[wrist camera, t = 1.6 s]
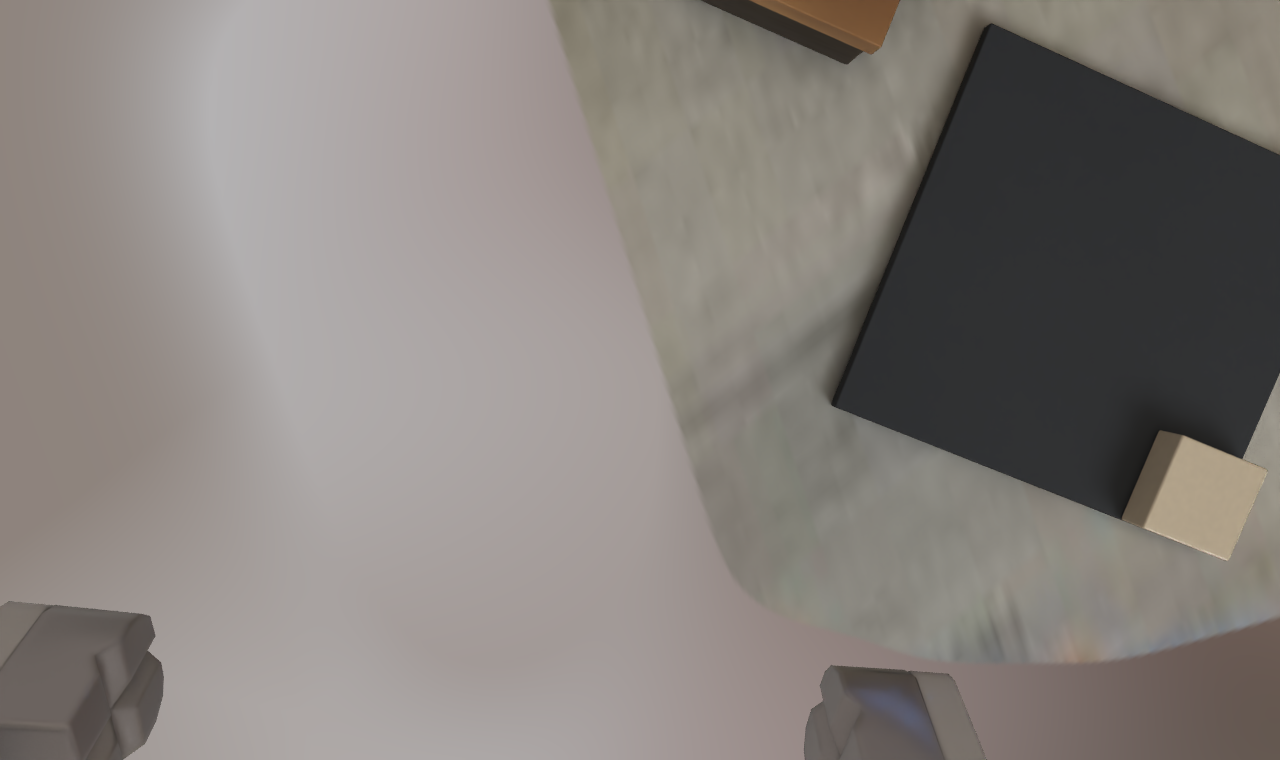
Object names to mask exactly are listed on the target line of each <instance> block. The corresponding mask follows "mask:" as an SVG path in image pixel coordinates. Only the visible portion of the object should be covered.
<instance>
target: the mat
mask: <svg viewBox="0 0 1280 760" xmlns="http://www.w3.org/2000/svg"><path fill="white" fill-rule="evenodd" d="M1279 373H1280V155H1278V154H1276V153H1274V152H1272V151H1269V150H1267V149H1265V148H1263V147H1261V146H1258V145H1256V144H1254V143H1252V142H1250V141H1247V140H1245V139H1243V138H1241V137H1239V136H1237V135H1234V134H1232V133H1230V132H1228V131H1226V130H1223V129H1221V128H1219V127H1217V126H1215V125H1213V124H1210V123H1208V122H1206V121H1204V120H1202V119H1199V118H1197V117H1195V116H1193V115H1191V114H1188V113H1186V112H1184V111H1182V110H1180V109H1178V108H1175V107H1173V106H1171V105H1169V104H1167V103H1164V102H1162V101H1160V100H1158V99H1156V98H1154V97H1151V96H1149V95H1147V94H1145V93H1143V92H1140V91H1138V90H1136V89H1134V88H1132V87H1129V86H1127V85H1125V84H1123V83H1121V82H1119V81H1116V80H1114V79H1112V78H1110V77H1108V76H1105V75H1103V74H1101V73H1099V72H1097V71H1094V70H1092V69H1090V68H1088V67H1086V66H1084V65H1081V64H1079V63H1077V62H1075V61H1073V60H1070V59H1068V58H1066V57H1064V56H1062V55H1060V54H1057V53H1055V52H1053V51H1051V50H1049V49H1046V48H1044V47H1042V46H1040V45H1038V44H1035V43H1033V42H1031V41H1029V40H1027V39H1025V38H1022V37H1020V36H1018V35H1016V34H1014V33H1011V32H1009V31H1007V30H1005V29H1003V28H1001V27H998V26H996V25H994V24H989V25H988V26H986V27H985V28H984V30H983V32H982V35H981V37H980V40H979V42H978V45H977V47H976V50H975V52H974V54H973V57H972V59H971V62H970V64H969V67H968V69H967V72H966V74H965V77H964V79H963V81H962V84H961V86H960V89H959V91H958V94H957V96H956V99H955V101H954V104H953V106H952V108H951V111H950V113H949V116H948V118H947V121H946V123H945V126H944V128H943V131H942V133H941V135H940V138H939V140H938V143H937V145H936V148H935V150H934V153H933V155H932V158H931V160H930V163H929V165H928V167H927V170H926V172H925V175H924V177H923V180H922V182H921V185H920V187H919V190H918V192H917V194H916V197H915V199H914V202H913V204H912V207H911V209H910V212H909V214H908V217H907V219H906V221H905V224H904V226H903V229H902V231H901V234H900V236H899V239H898V241H897V244H896V246H895V248H894V251H893V253H892V256H891V258H890V261H889V263H888V266H887V268H886V271H885V273H884V276H883V278H882V280H881V283H880V285H879V288H878V290H877V293H876V295H875V298H874V300H873V303H872V305H871V307H870V310H869V312H868V315H867V317H866V320H865V322H864V325H863V327H862V330H861V332H860V334H859V337H858V339H857V342H856V344H855V347H854V349H853V352H852V354H851V357H850V359H849V361H848V364H847V366H846V369H845V371H844V374H843V376H842V379H841V381H840V384H839V386H838V389H837V391H836V393H835V396H834V398H833V401H832V403H831V405H832V406H834V407H837V408H839V409H842V410H844V411H847V412H849V413H852V414H854V415H857V416H859V417H862V418H864V419H867V420H870V421H872V422H875V423H877V424H880V425H882V426H885V427H887V428H890V429H892V430H895V431H897V432H900V433H903V434H905V435H908V436H910V437H913V438H915V439H918V440H920V441H923V442H925V443H928V444H930V445H933V446H935V447H938V448H941V449H943V450H946V451H948V452H951V453H953V454H956V455H958V456H961V457H963V458H966V459H968V460H971V461H973V462H976V463H979V464H981V465H984V466H986V467H989V468H991V469H994V470H996V471H999V472H1001V473H1004V474H1006V475H1009V476H1012V477H1014V478H1017V479H1019V480H1022V481H1024V482H1027V483H1029V484H1032V485H1034V486H1037V487H1039V488H1042V489H1044V490H1047V491H1050V492H1052V493H1055V494H1057V495H1060V496H1062V497H1065V498H1067V499H1070V500H1072V501H1075V502H1077V503H1080V504H1082V505H1085V506H1088V507H1090V508H1093V509H1095V510H1098V511H1100V512H1103V513H1105V514H1108V515H1110V516H1113V517H1115V518H1118V519H1120V520H1122V515H1123V513H1124V511H1125V508H1126V506H1127V504H1128V501H1129V499H1130V497H1131V494H1132V492H1133V490H1134V487H1135V485H1136V483H1137V480H1138V478H1139V476H1140V473H1141V471H1142V469H1143V466H1144V464H1145V462H1146V459H1147V457H1148V455H1149V452H1150V450H1151V448H1152V445H1153V443H1154V441H1155V438H1156V436H1157V434H1158V431H1160V430H1163V431H1167V432H1172V433H1176V434H1181V435H1185V436H1187V437H1189V438H1192V439H1194V440H1197V441H1199V442H1202V443H1204V444H1207V445H1209V446H1211V447H1214V448H1216V449H1219V450H1221V451H1224V452H1226V453H1228V454H1231V455H1233V456H1236V457H1238V458H1241V459H1243V456H1244V454H1245V452H1246V449H1247V447H1248V445H1249V442H1250V440H1251V438H1252V436H1253V433H1254V431H1255V429H1256V426H1257V424H1258V422H1259V419H1260V417H1261V415H1262V412H1263V410H1264V408H1265V406H1266V403H1267V401H1268V399H1269V396H1270V394H1271V392H1272V389H1273V387H1274V385H1275V383H1276V380H1277V378H1278V376H1279Z"/></svg>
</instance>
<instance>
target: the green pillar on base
mask: <svg viewBox="0 0 1280 760" xmlns="http://www.w3.org/2000/svg"><path fill="white" fill-rule="evenodd" d="M702 1H704V2H706V3H708V4H711V5H713V6H715V7H718V8H720V9H722V10H724V11H727V12H729V13H731V14H733V15H736V16H738V17H740V18H742V19H745V20H747V21H749V22H751V23H754V24H756V25H758V26H760V27H763V28H765V29H767V30H769V31H772V32H774V33H776V34H779V35H781V36H783V37H785V38H788V39H790V40H792V41H794V42H797V43H799V44H801V45H803V46H806V47H808V48H810V49H812V50H815V51H817V52H819V53H821V54H824V55H826V56H828V57H830V58H833V59H835V60H837V61H840V62H842V63H844V64H848V63H850V62H851V61H852V60H853V59H854V58H856V57H857V56H858V55H859V54H860V53H862V52H863V51H864V52H867V53H869V54H873V53H874V52H875V51H877V50H878V49H879V48H881V46H882V44H883V41H884V39H885V36H886V34H887V31H888V29H889V26H890V24H891V21H892V19H893V16H894V14H895V11H896V9H897V6H898V4H899V1H900V0H702Z"/></svg>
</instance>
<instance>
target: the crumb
mask: <svg viewBox="0 0 1280 760" xmlns="http://www.w3.org/2000/svg"><path fill="white" fill-rule="evenodd" d="M1267 472H1268V470H1266V469H1265V468H1263V467H1260V466H1258V465H1255V464H1253V463H1250V462H1248V461H1246V460H1243V459H1241V458H1238V457H1236V456H1233V455H1231V454H1228V453H1226V452H1224V451H1221V450H1219V449H1216V448H1214V447H1211V446H1209V445H1207V444H1204V443H1202V442H1199V441H1197V440H1194V439H1192V438H1189V437H1187V436H1185V435H1181V434H1176V433H1172V432H1167V431H1163V430H1160V431H1158V434H1157V436H1156V438H1155V441H1154V443H1153V445H1152V448H1151V450H1150V452H1149V455H1148V457H1147V459H1146V462H1145V464H1144V466H1143V469H1142V471H1141V473H1140V476H1139V478H1138V480H1137V483H1136V485H1135V487H1134V490H1133V492H1132V494H1131V497H1130V499H1129V501H1128V504H1127V506H1126V508H1125V511H1124V513H1123V515H1122V520H1123V521H1126V522H1128V523H1131V524H1133V525H1136V526H1138V527H1141V528H1143V529H1146V530H1148V531H1151V532H1153V533H1156V534H1158V535H1161V536H1164V537H1166V538H1169V539H1171V540H1174V541H1176V542H1179V543H1181V544H1184V545H1186V546H1189V547H1191V548H1194V549H1196V550H1199V551H1202V552H1204V553H1207V554H1209V555H1212V556H1214V557H1217V558H1219V559H1222V560H1224V561H1228V560H1229V559H1230V557H1231V554H1232V552H1233V550H1234V548H1235V545H1236V543H1237V541H1238V538H1239V536H1240V534H1241V532H1242V529H1243V527H1244V525H1245V522H1246V520H1247V518H1248V515H1249V513H1250V511H1251V509H1252V506H1253V504H1254V502H1255V499H1256V497H1257V495H1258V493H1259V490H1260V488H1261V486H1262V483H1263V481H1264V479H1265V476H1266V474H1267Z"/></svg>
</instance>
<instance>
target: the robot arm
mask: <svg viewBox="0 0 1280 760" xmlns="http://www.w3.org/2000/svg"><path fill="white" fill-rule="evenodd" d="M154 638H155V632H154V629H153V625H152V621H151V617H150V616H147V615H144V614H136V613H128V612H118V611H107V610H98V609H88V608H78V607H68V606H58V605H44V604H32V603H22V602H12V601H9V602H7V603H5V604H4V605H2V606H1V607H0V760H123V759H124V758H126V757H127V756H128V755H130V754H131V753H133V752H134V751H136V750H137V749H138V748H140V747H141V746H142V745H144V744H145V743H146V741H147V739H148V737H149V735H150V732H151V730H152V728H153V726H154V724H155V722H156V719H157V716H158V712H159V708H160V705H161V701H162V697H163V680H164V676H163V671H162V665H161V662H160V661H159V660H158V659H157V658H155V657H154V656H153V655H152V654H151V653H150V652H148V651H147V650H148V648H149V647H150V645H151V643H152V641H153V639H154ZM820 688H821V692H822V696H823V702H821V703H820V704H818V705H817V706H815V707H814V708H812V709H811V712H810V716H809V719H808V722H807V726H806V733H805V744H804V754H805V760H987V759H986V757H985V754H984V752H983V749H982V747H981V744H980V742H979V739H978V737H977V734H976V732H975V729H974V727H973V724H972V722H971V720H970V717H969V715H968V712H967V710H966V707H965V705H964V702H963V700H962V697H961V695H960V693H959V690H958V687H957V685H956V683H955V681H954V680H953V678H952V677H951V676H950V675H949V674H944V673H930V672H917V671H908V672H907V671H905V670H895V669H879V668H864V667H848V666H832V665H831V666H830V667H829V668H828V669H827V670H826V671H825V673H824V676H823V679H822V681H821V684H820Z"/></svg>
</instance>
